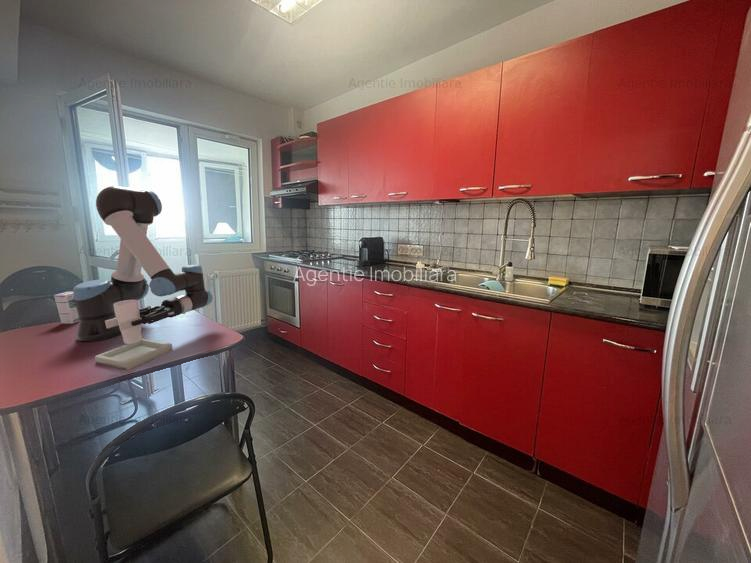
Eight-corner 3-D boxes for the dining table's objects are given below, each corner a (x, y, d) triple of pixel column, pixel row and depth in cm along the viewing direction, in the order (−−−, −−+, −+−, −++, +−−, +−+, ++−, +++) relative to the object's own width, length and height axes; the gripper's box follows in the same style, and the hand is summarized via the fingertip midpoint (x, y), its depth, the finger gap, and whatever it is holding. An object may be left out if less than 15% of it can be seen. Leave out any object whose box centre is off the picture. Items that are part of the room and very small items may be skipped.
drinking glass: (149, 339, 110) (142, 300, 107) (129, 346, 104) (121, 305, 100) (137, 336, 112) (129, 298, 109) (116, 344, 106) (108, 304, 103)
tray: (96, 362, 104) (94, 356, 104) (143, 344, 119) (142, 338, 119) (127, 370, 99) (126, 363, 99) (172, 349, 114) (171, 343, 114)
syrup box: (73, 323, 141) (66, 294, 138) (60, 323, 141) (53, 294, 138) (84, 319, 147) (78, 291, 144) (73, 319, 147) (66, 291, 144)
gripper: (195, 317, 121) (134, 339, 99) (161, 312, 127) (97, 332, 105) (192, 299, 119) (130, 318, 98) (158, 295, 125) (92, 312, 104)
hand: (113, 325), depth 102 cm, fingers closed on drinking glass, 6 cm apart
